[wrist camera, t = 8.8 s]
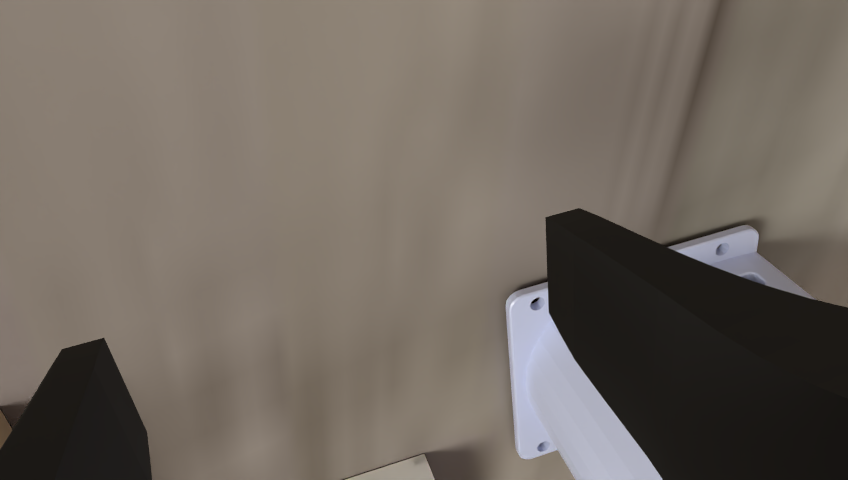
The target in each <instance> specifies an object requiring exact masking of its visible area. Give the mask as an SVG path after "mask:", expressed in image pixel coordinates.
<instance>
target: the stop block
mask: <svg viewBox="0 0 848 480" xmlns="http://www.w3.org/2000/svg"><path fill="white" fill-rule="evenodd" d="M11 431H12V428H11V427H10V425H9V423H8V422H7V420H6V418H5V416H4V415H3V413H2V411H1V410H0V449H1V447H2V445H3V444H4V442H5V441H6V439H7V438H8V436H9V435H10V433H11Z"/></svg>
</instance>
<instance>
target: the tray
mask: <svg viewBox="0 0 848 480" xmlns="http://www.w3.org/2000/svg"><path fill="white" fill-rule="evenodd" d="M345 480H435V479H434V477H433V474H432V472H431V469H430V467H429V464H428V462H427V459H426V457H425V454H422V455H419V456H416V457H413V458H410V459H407V460H404V461H401V462H398V463H394V464H391V465H388V466H385V467H382V468H379V469H376V470H373V471H370V472H367V473H364V474H361V475H357V476H354V477H351V478H348V479H345Z"/></svg>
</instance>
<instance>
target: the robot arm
mask: <svg viewBox="0 0 848 480" xmlns="http://www.w3.org/2000/svg"><path fill="white" fill-rule="evenodd" d="M758 240H759V233H758V232H757V231H756V230H755V229H754V228H753V227H751V226H749V225H742V226H739V227H735V228H732V229H728V230H725V231H721V232H718V233H714V234H711V235H708V236H704V237H701V238H697V239H694V240H690V241H687V242H683V243H680V244H677V245H673V246H670V247H665V246H663V245H661V244H659V243H656V242H654V241H652V240H650V239H648V238H645V237H643V236H641V235H639V234H637V233H634V232H632V231H630V230H628V229H626V228H624V227H621V226H619V225H617V224H615V223H613V222H610V221H608V220H606V219H604V218H602V217H599V216H597V215H595V214H592V213H590V212H587V211H585V210H582V209H580V208H578V209H575V210H571V211H567V212H564V213H560V214H556V215H553V216H549V217H546V244H547V276H548V282H545V283H542V284H539V285H535V286H532V287H528V288H525V289H521V290H518V291H516V292H514V293H513V294H511V295H510V296H509V298H508V299H507V301H506V318H507V332H508V346H509V360H510V374H511V388H512V403H513V417H514V431H515V445H516V450H517V452H518V454H519V456H520V457H521V458H523V459H532V458H535V457H538V456H541V455H544V454H547V453H550V452H553V451H556V450H558V451H559V453H560V455H561V456H562V458H563V460H564V461H565V463H566V465H567V466H568V468H569V470H570V471H571V473H572V475H573V476H574V478H575V480H848V308H847V307H843V306H838V305H834V304H830V303H826V302H822V301H818V300H816V299H815V298H813V297H812V296H811V295H810V294H808V293H807V292H806V291H805V290H803V289H802V288H801V287H800V286H798V285H797V284H796V283H795V282H793V281H792V280H791V279H790V278H788V277H787V276H786V275H785V274H783V273H782V272H781V271H780V270H778V269H777V268H776V267H775V266H773V265H772V264H771V263H770V262H768V261H767V260H766V259H765V258H763V257H762V256H761V255H760V254H758V253H757V246H758ZM720 244H721V246H720V247H719V248H717V247H718V246H719V245H720ZM538 297H539V299H538V300H537V302H535V303H531V302H532V301H533V300H534V299H536V298H538ZM0 480H152V476H151V465H150V455H149V446H148V437H147V431H146V429H145V427H144V425H143V422H142V420H141V418H140V416H139V414H138V411H137V409H136V407H135V405H134V403H133V400H132V398H131V396H130V394H129V392H128V389H127V387H126V385H125V383H124V381H123V378H122V376H121V374H120V372H119V370H118V367H117V365H116V363H115V361H114V359H113V356H112V354H111V352H110V350H109V348H108V346H107V343H106V341H105V339H104V338H102V339H98V340H94V341H91V342H87V343H83V344H80V345H76V346H72V347H69V348H65V349H62V350H61V352H60V353H59V355H58V357H57V358H56V360H55V361H54V363H53V364H52V366H51V368H50V369H49V371H48V372H47V374H46V376H45V377H44V379H43V381H42V382H41V384H40V386H39V387H38V389H37V391H36V392H35V394H34V396H33V397H32V399H31V401H30V402H29V404H28V406H27V407H26V409H25V411H24V412H23V414H22V416H21V417H20V419H19V420H18V422H17V424H16V425H15V427H14V428H13V430H12V431H11V433H10V435H9V436H8V438H7V439H6V441H5V442H4V444H3V445H2V447H1V449H0Z"/></svg>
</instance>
